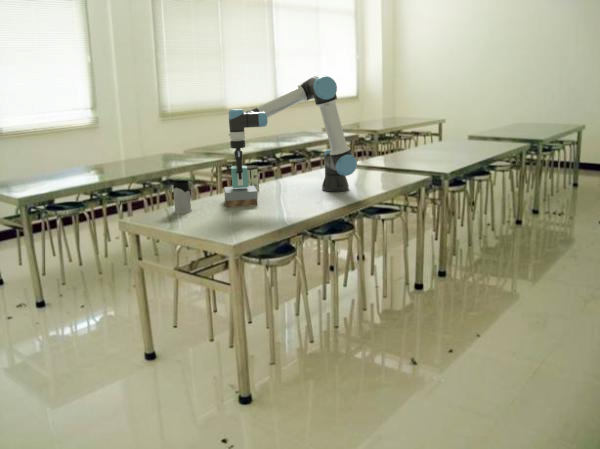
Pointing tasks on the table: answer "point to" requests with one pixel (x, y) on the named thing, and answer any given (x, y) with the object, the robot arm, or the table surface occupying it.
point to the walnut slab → (240, 202)
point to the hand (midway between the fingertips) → (240, 183)
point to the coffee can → (253, 176)
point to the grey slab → (240, 193)
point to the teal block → (235, 180)
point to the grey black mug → (182, 196)
